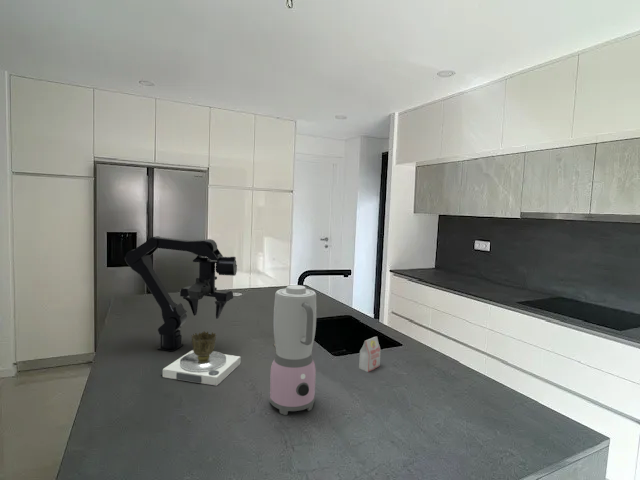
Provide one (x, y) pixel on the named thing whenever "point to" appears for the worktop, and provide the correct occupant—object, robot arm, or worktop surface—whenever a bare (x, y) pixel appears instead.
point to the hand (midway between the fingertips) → (206, 316)
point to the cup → (203, 345)
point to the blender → (293, 349)
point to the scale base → (202, 377)
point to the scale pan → (202, 362)
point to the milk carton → (370, 355)
